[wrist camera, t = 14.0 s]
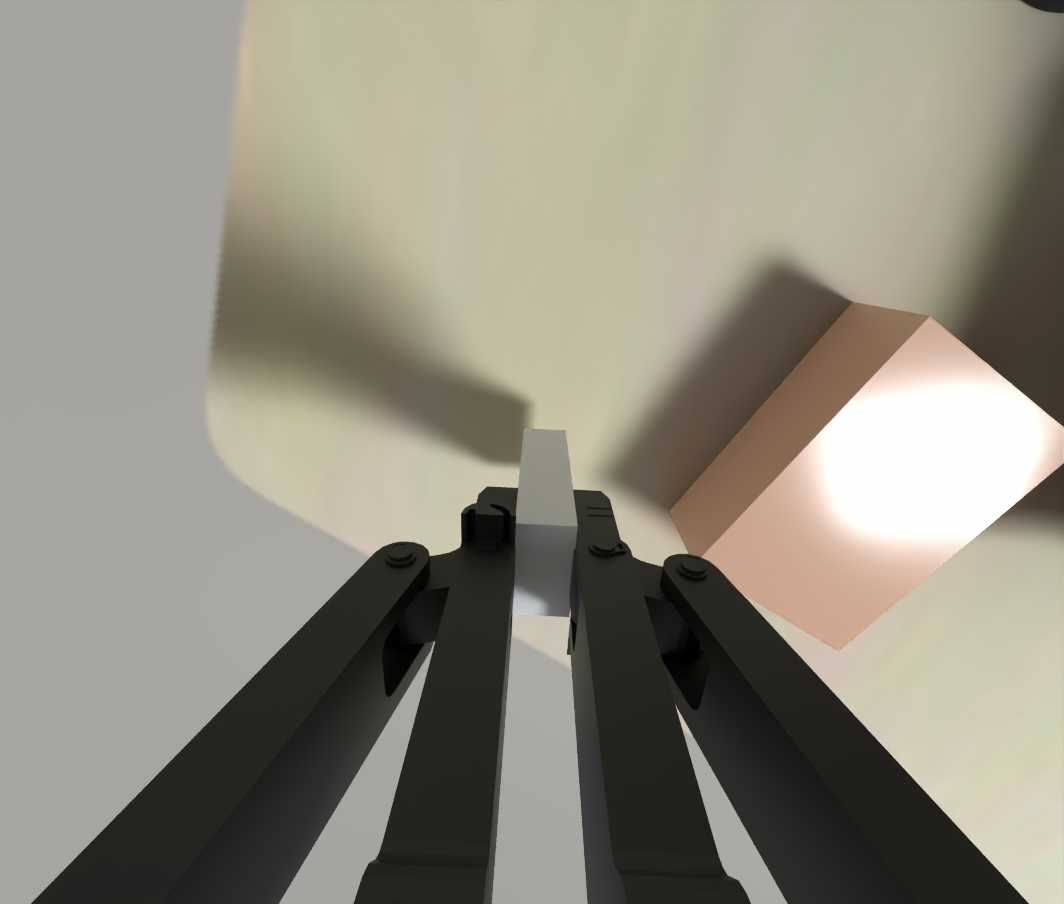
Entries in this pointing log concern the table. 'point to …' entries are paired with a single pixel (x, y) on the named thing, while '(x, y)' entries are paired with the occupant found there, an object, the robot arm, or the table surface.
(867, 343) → the pink rectangular block
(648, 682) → the robot arm
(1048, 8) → the drinking cup
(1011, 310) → the table surface
